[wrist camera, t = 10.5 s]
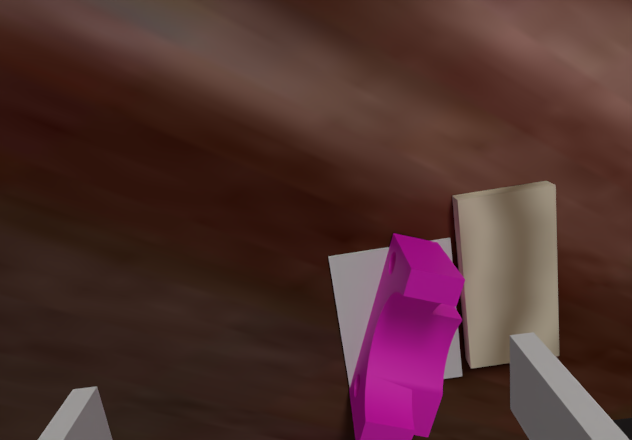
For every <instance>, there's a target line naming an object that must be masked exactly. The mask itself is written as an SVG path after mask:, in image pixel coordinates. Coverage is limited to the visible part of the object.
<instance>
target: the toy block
mask: <svg viewBox="0 0 632 440" xmlns="http://www.w3.org/2000/svg"><path fill="white" fill-rule="evenodd" d="M464 282H465V279H464V277H463V276H462V275H461V273H460V272H459V271H458V269H457V268H456V267H455V265H454V264H453V262H452V261H451V260H450V258H449V257H448V256H447V254H446V253H445V252H444V250H443V249H442V248H441V246H440V245H439V243H437V242H432V241H428V240H423V239H418V238H414V237H409V236H404V235H399V234H395V233H393V236H392V240H391V243H390V247H389V251H388V254H387V258H386V261H385V265H384V268H383V272H382V275H381V279H380V282H379V286H378V290H377V293H376V297H375V300H374V304H373V307H372V311H371V314H370V318H369V321H368V325H367V328H366V332H365V336H364V339H363V343H362V346H361V350H360V353H359V357H358V360H357V364H356V367H355V371H354V375H353V378H352V382H351V385H350V388H349V392H350V400H351V408H352V416H353V424H354V432H355V440H412V438H413V435H418V436H423V437H428V436H429V433H430V430H431V427H432V424H433V421H434V419H435V416H436V413H437V410H438V407H439V404H440V401H441V398H442V395H443V379H444V371H445V365H446V360H447V356H448V352H449V348H450V345H451V342H452V339H453V337H454V334H455V332H456V330H457V328H458V326H459V325H460V323H461V322H462V318H461V316H460V315H459V313H458V311H457V310H456V308H455V306H457V303H458V300H459V297H460V294H461V291H462V288H463V285H464Z"/></svg>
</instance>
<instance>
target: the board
mask: <svg viewBox="0 0 632 440" xmlns="http://www.w3.org/2000/svg"><path fill="white" fill-rule="evenodd" d="M452 199H453V211H454V223H455V235H456V247H457V260H458V271H459V272H460V273H461V275H462V276H463V277H464V279H465V282H464V285H463V288H462V291H461V294H460V296H461V308H462V320H463V332H464V344H465V356H466V360H467V362H468V364H469V366H470V368H471V369H472V368H479V367H486V366H492V365H499V364H506V363H510V335H516V334H524V333H532V332H534V333H535V334H536V335H537V336H538V338H539V339H540V340H541V341H542V342H543V343H544V344H545V345H546V346H547V348H548V349H549V350H550V351H551V352H552V353H553V354H554V355H555V356H559V322H558V275H557V228H556V185H554V184H552V183H550V182H548V181H543V182H536V183H530V184H523V185H517V186H511V187H504V188H498V189H491V190H485V191H479V192H472V193H466V194H460V195H453V196H452Z"/></svg>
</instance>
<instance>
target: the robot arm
mask: <svg viewBox="0 0 632 440" xmlns="http://www.w3.org/2000/svg"><path fill="white" fill-rule="evenodd" d="M510 409H511V411H512V412H513V414H514V415H515V417H516V419H517V420H518V422H519V423H520V425H521V427H522V428H523V430H524V432H525V433H526V435H527V436H528V438H529V440H632V418H628V419H620V420H612V419H611V418H610V417H609V416H608V415H607V414H606V413H605V411H604V410H603V409H602V408H601V407H600V406H599V405H598V404H597V403H596V401H595V400H594V399H593V398H592V397H591V396H590V395H589V394H588V392H587V391H586V390H585V389H584V388H583V387H582V386H581V385H580V383H579V382H578V381H577V380H576V379H575V378H574V377H573V376H572V375H571V373H570V372H569V371H568V370H567V369H566V368H565V367H564V366H563V364H562V363H561V362H560V361H559V360H558V359H557V358H556V357H555V355H554V354H553V353H552V352H551V351H550V350H549V349H548V348H547V346H546V345H545V344H544V343H543V342H542V341H541V340H540V339H539V338H538V336H537V335H536V334H535V333H534V332H532V333H524V334H516V335H510ZM38 440H112V437H111V433H110V430H109V427H108V423H107V420H106V416H105V413H104V409H103V406H102V402H101V399H100V395H99V392H98V388H97V387H89V388H81V389H73V390H72V392H71V393H70V395H69V396H68V397H67V399H66V400H65V402H64V403H63V404H62V406H61V407H60V409H59V410H58V412H57V413H56V414H55V416H54V417H53V419H52V420H51V422H50V423H49V424H48V426H47V427H46V429H45V430H44V432H43V433H42V434H41V436H40V437H39V439H38Z"/></svg>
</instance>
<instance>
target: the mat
mask: <svg viewBox="0 0 632 440" xmlns="http://www.w3.org/2000/svg"><path fill="white" fill-rule="evenodd" d="M432 242H437V243H439V245H440V246H441V248H442V249H443V250H444V252H445V253H446V254H447V256H448V257H449V258H450V260H451V261H452V251H451V239H450V238H445V239H438V240H432ZM388 251H389V247H386V248H380V249H373V250H367V251H360V252H354V253H347V254H341V255H334V256H328V258H329V264H330V270H331V276H332V282H333V289H334V295H335V301H336V307H337V313H338V319H339V326H340V332H341V338H342V344H343V350H344V356H345V363H346V369H347V375H348V381H349V387H350V385H351V382H352V378H353V375H354V371H355V367H356V364H357V360H358V357H359V353H360V350H361V346H362V343H363V339H364V336H365V332H366V328H367V325H368V321H369V318H370V314H371V311H372V307H373V304H374V300H375V297H376V293H377V290H378V286H379V282H380V279H381V275H382V272H383V268H384V265H385V261H386V258H387V254H388ZM455 308H456V306H455ZM456 310H457V309H456ZM461 376H462V367H461V355H460V343H459V332H458V328H457V330H456V332H455V334H454V337H453V339H452V342H451V345H450V348H449V352H448V356H447V360H446V365H445V371H444V379H447V378H454V377H461Z"/></svg>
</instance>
